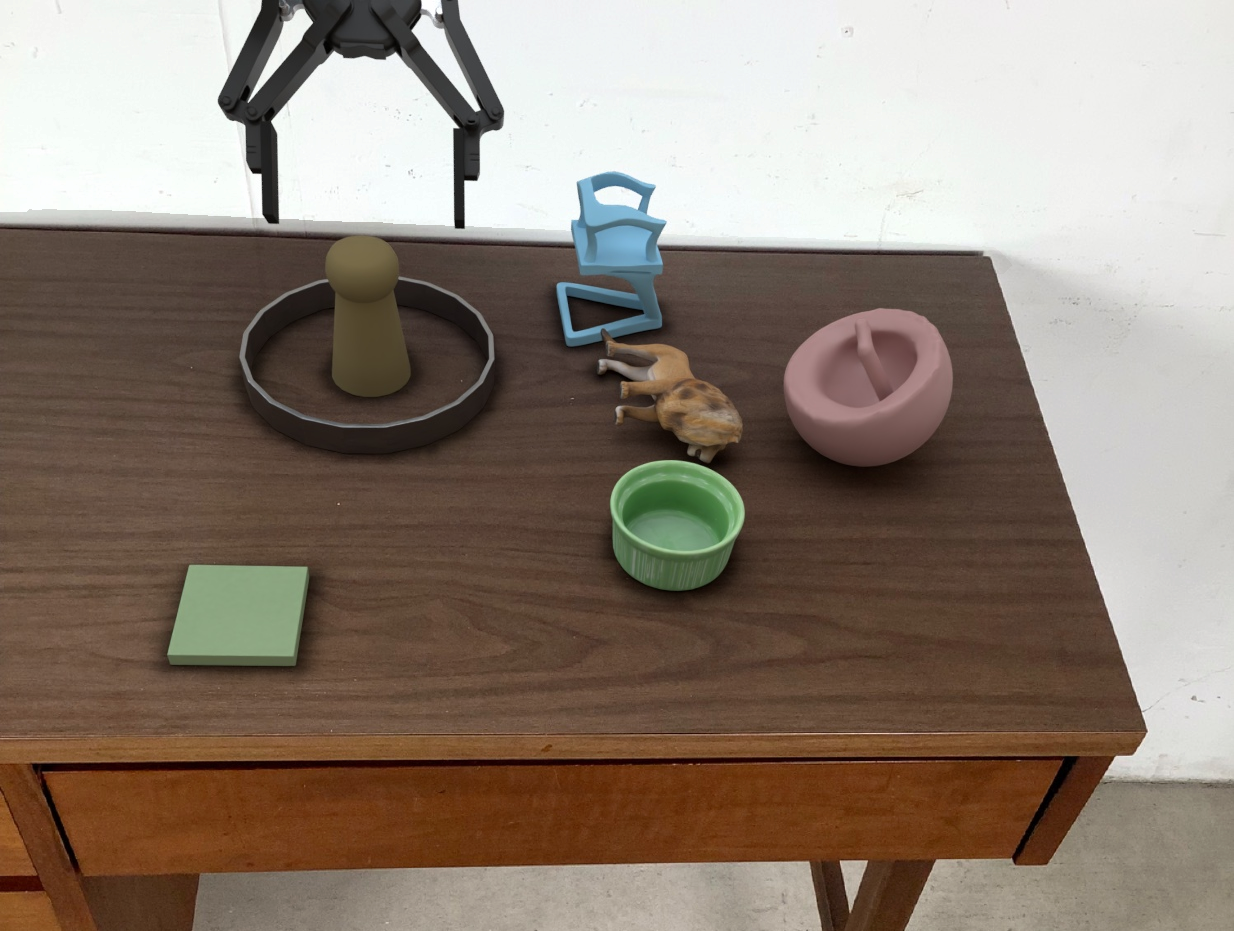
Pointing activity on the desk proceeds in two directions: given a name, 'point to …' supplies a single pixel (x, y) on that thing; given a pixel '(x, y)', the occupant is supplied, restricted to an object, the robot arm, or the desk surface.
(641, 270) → the chair
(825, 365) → the mortar and pestle
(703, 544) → the ramekin
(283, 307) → the ring
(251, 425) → the desk surface
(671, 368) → the lion figurine
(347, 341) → the olive pawn
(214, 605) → the green mat
